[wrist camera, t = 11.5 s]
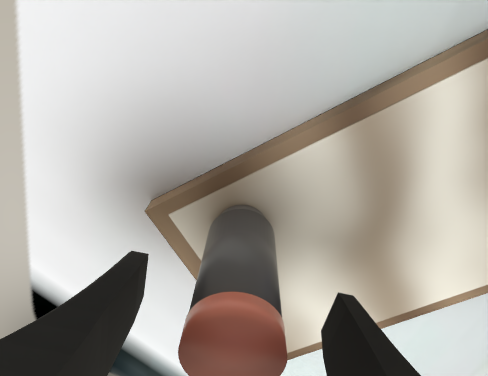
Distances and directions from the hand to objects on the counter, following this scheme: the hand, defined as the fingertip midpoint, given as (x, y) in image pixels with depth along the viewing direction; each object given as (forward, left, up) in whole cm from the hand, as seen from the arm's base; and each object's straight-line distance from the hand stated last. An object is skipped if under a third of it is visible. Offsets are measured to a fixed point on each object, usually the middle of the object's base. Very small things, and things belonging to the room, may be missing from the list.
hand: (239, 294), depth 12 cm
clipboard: (-6, +3, -6) cm, 9 cm away
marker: (0, 0, -5) cm, 5 cm away
